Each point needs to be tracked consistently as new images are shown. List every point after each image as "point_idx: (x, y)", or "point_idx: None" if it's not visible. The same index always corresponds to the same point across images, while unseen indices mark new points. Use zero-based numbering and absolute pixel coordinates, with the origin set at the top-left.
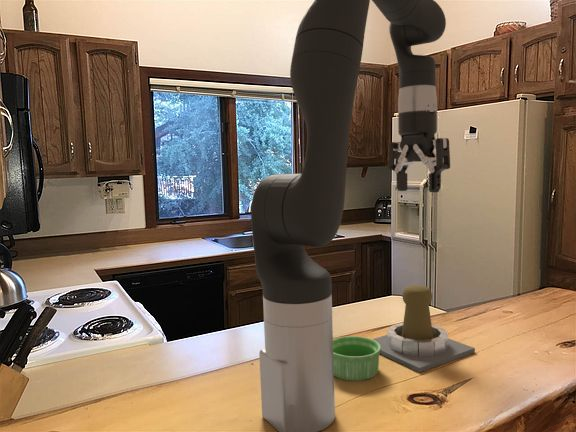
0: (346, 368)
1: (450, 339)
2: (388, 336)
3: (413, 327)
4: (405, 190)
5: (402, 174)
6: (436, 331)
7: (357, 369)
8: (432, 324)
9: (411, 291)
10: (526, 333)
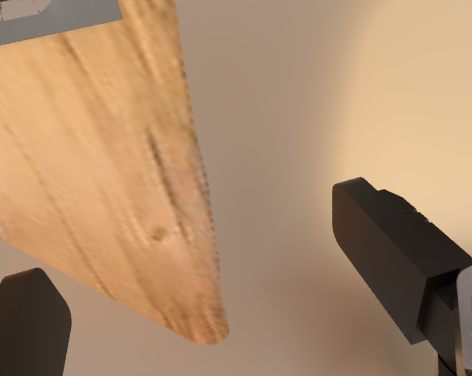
0: None
1: (18, 39)
2: None
3: None
4: (332, 222)
5: (412, 295)
6: (2, 1)
7: None
8: (34, 13)
9: None
10: (46, 199)
